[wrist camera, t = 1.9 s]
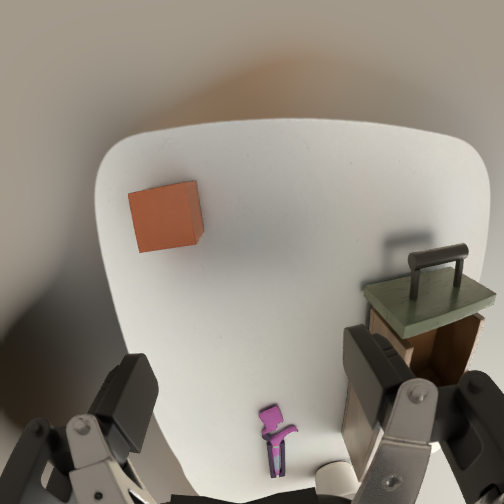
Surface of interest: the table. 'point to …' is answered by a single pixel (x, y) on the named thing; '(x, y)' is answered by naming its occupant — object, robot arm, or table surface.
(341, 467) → the cup
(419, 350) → the drawer
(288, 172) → the table surface
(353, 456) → the cabinet
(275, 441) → the pink toy rifle
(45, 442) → the robot arm
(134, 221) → the block
